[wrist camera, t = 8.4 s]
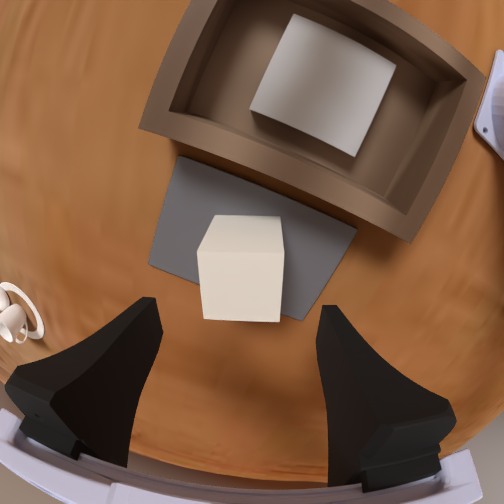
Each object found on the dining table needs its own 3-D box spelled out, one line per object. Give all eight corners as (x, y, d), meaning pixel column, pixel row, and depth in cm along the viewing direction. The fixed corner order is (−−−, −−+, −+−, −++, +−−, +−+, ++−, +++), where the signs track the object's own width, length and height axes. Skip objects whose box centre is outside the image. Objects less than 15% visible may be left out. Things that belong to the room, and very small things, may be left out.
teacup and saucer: (-11, 284, 23) (-30, 302, 20) (12, 264, 22) (-12, 285, 18) (28, 340, 27) (13, 361, 23) (57, 331, 25) (39, 355, 21)
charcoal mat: (356, 228, 18) (358, 230, 18) (301, 318, 21) (302, 321, 21) (180, 154, 16) (178, 155, 16) (149, 261, 20) (147, 263, 20)
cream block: (280, 216, 18) (284, 253, 13) (277, 273, 19) (279, 322, 15) (214, 215, 18) (196, 251, 13) (217, 271, 19) (203, 318, 15)
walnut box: (449, 79, 13) (486, 77, 9) (385, 218, 17) (410, 243, 14) (235, -27, 11) (226, -57, 7) (165, 124, 16) (138, 128, 12)
